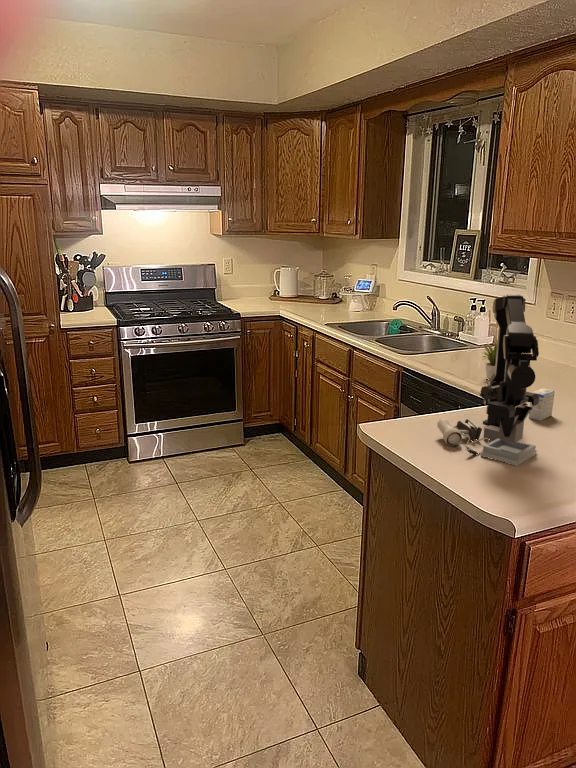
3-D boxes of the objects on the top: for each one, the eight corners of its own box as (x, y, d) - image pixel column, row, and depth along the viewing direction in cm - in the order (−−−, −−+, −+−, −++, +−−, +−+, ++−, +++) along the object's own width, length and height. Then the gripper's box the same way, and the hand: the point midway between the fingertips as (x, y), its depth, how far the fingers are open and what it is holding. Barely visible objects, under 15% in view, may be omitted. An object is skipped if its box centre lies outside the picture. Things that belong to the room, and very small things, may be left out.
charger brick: (506, 434, 166) (508, 415, 164) (522, 438, 163) (524, 419, 161) (498, 438, 163) (500, 419, 161) (514, 443, 160) (516, 422, 158)
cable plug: (489, 436, 179) (490, 425, 178) (511, 441, 174) (512, 430, 173) (483, 439, 177) (484, 427, 176) (505, 445, 172) (506, 433, 171)
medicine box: (538, 413, 200) (541, 387, 198) (552, 415, 197) (555, 390, 195) (528, 418, 195) (530, 392, 193) (541, 421, 192) (544, 395, 190)
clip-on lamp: (494, 464, 166) (467, 429, 182) (501, 444, 163) (472, 411, 179) (455, 463, 163) (430, 428, 179) (461, 443, 161) (436, 410, 176)
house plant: (490, 385, 234) (493, 344, 229) (466, 377, 246) (469, 338, 242) (518, 381, 239) (522, 341, 235) (493, 374, 251) (496, 335, 247)
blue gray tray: (501, 444, 171) (502, 435, 171) (536, 453, 165) (537, 444, 164) (480, 456, 163) (481, 446, 163) (516, 466, 156) (517, 456, 156)
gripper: (503, 367, 170) (498, 420, 174) (469, 379, 158) (465, 435, 162) (542, 374, 163) (536, 428, 167) (510, 387, 150) (505, 446, 154)
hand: (510, 434), depth 163 cm, fingers closed on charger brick, 4 cm apart
